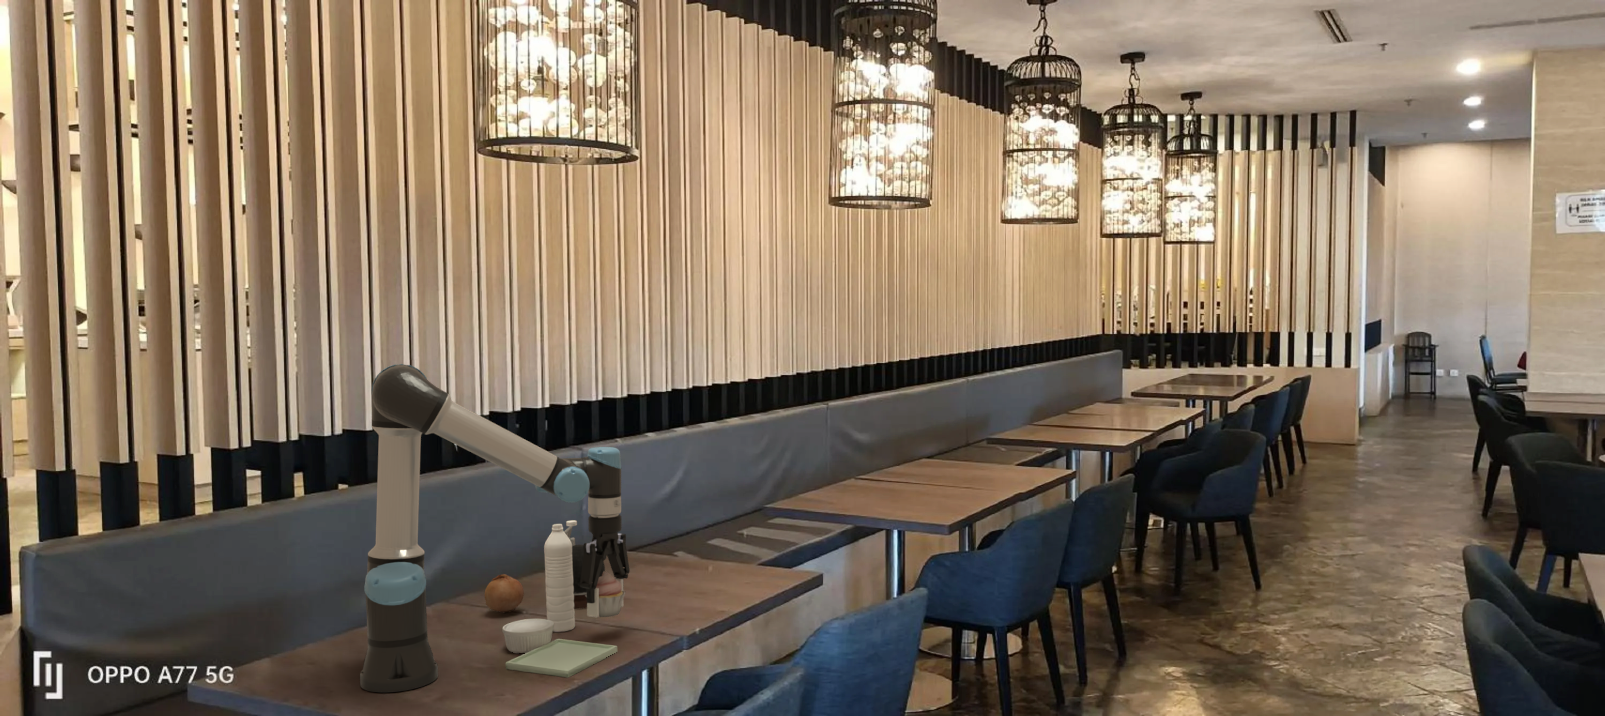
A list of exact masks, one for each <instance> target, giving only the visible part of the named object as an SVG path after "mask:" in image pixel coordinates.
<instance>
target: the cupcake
mask: <svg viewBox="0 0 1605 716" xmlns="http://www.w3.org/2000/svg"><path fill="white" fill-rule="evenodd" d="M614 578H615V577H614V575H612V574H611V573H609V572H608V571H606V570H605V571H604V572H603V574H602V576H601V577H599V579H598V583H597V586H596V588H599V617H598V618H609V617H610V618H611V617H615V616H617V615H619V614H620V612H621V608H622V607H621V604H622V600H623V601H624V597H625V595H626V591H625V590H623V591H622V590H621V589H622V587H621V584H620V582H619V581H618V580H616V579H614ZM592 583H593V582H592ZM585 596H586V595H585ZM586 597H587V596H586Z"/></svg>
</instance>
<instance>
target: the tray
mask: <svg viewBox="0 0 1605 716" xmlns="http://www.w3.org/2000/svg"><path fill="white" fill-rule="evenodd" d="M616 652H617V653H618V646H617V645H612V644H605V643H596V642H587V641H581V640H580V641H578V640H572V639H564V638H563V639H562V638H556V639H554V640H551V642H549V643H547V644H545V645H543V646H541V647H538V648H536V649H534V650H532V651H530V652H527V653H525V654H521V655H519V656H517V657H514V658H512V659H510V660H508V661H506V662H505V670H511V671H518V672H525V673H531V674H537V675H538V674H540V675H547V676H554V677H559V678H560V677H561V678H570V677H572V676H574V675H576V674H578V673H580V672H582V671H584V670H586V669H588V668H590V667H591V666H594V665H595V664H598V663H600V662H601V661H604V660H605V659H607V658H609V657H611V656H613V655H614V653H615V654H617V653H616ZM612 654H613V655H612ZM610 655H611V656H610ZM608 656H609V657H608ZM606 657H607V658H606ZM593 664H594V665H593Z"/></svg>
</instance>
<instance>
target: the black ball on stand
mask: <svg viewBox="0 0 1605 716" xmlns="http://www.w3.org/2000/svg"><path fill="white" fill-rule="evenodd" d="M583 545H584V544H575V545H574V546H572V562H573V563H572V565H573V567H572V568H573V587H574V592H573V594H574V600H573V601H574V610H575V609H577V610H578V609H587V599H586V596H585V595H586V588H582V587H580V580H581V572H582V564H583V557H584V548H583ZM596 555H597V554H596ZM604 571H605V572H606V567H605V560H604V561H603V564H602V568H601V572H600V575H599V577H601V576H602V574H603V572H604Z"/></svg>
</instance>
